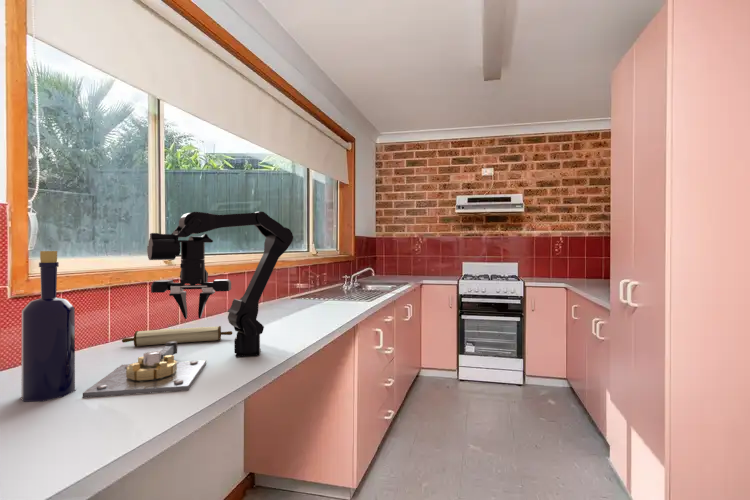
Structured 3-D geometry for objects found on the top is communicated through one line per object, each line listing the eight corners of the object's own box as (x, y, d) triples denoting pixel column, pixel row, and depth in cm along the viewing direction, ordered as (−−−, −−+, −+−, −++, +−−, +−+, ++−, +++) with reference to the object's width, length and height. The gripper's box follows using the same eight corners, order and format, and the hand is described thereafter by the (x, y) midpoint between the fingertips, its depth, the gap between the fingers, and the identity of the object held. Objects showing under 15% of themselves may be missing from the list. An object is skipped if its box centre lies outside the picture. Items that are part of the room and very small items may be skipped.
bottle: (86, 389, 86) (86, 251, 86) (38, 405, 77) (38, 251, 77) (57, 384, 89) (57, 250, 89) (8, 398, 80) (8, 251, 80)
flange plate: (206, 363, 105) (206, 341, 105) (188, 390, 85) (188, 362, 85) (122, 368, 101) (122, 345, 100) (82, 397, 81) (82, 368, 81)
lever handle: (192, 352, 111) (192, 340, 111) (169, 378, 89) (169, 362, 89) (153, 354, 109) (153, 342, 109) (120, 381, 87) (120, 365, 87)
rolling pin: (232, 338, 136) (232, 323, 136) (232, 342, 130) (232, 327, 130) (124, 345, 125) (124, 329, 125) (119, 350, 120) (119, 333, 120)
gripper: (233, 258, 115) (233, 312, 115) (163, 258, 111) (163, 314, 111) (228, 259, 104) (228, 319, 104) (150, 260, 100) (150, 321, 100)
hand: (192, 318), depth 105 cm, fingers open, 3 cm apart
